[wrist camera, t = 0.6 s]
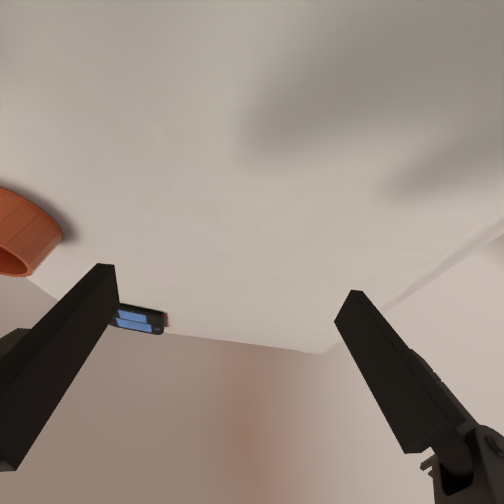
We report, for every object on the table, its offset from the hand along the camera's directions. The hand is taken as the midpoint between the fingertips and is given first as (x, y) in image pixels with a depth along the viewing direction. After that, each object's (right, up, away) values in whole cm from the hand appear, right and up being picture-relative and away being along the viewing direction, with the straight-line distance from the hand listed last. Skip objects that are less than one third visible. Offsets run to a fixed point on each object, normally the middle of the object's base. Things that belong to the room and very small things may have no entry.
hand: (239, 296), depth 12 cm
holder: (-31, +7, +16) cm, 35 cm away
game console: (-29, -13, +42) cm, 52 cm away
